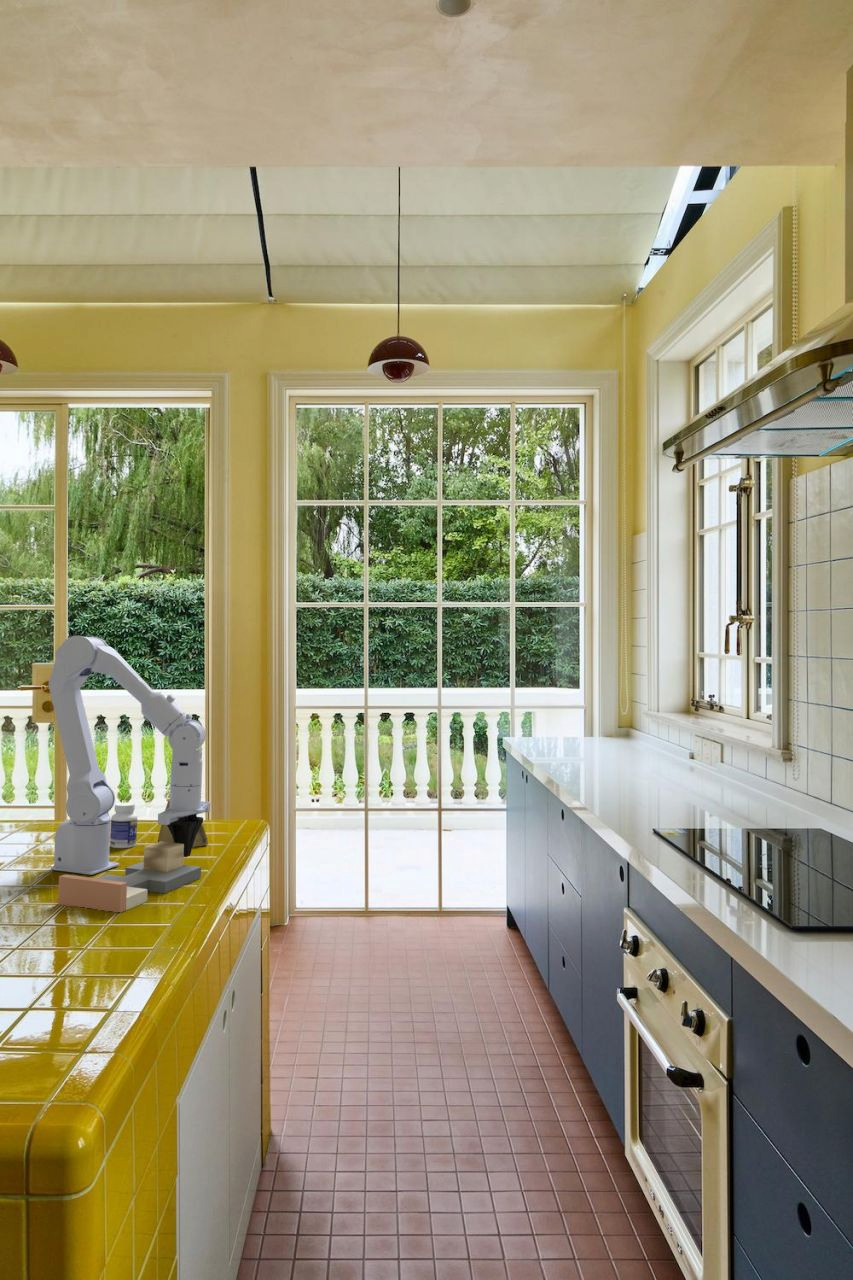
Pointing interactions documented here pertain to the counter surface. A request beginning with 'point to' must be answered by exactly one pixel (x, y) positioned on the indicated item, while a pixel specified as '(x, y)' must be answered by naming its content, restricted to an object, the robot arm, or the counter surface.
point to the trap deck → (122, 887)
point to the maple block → (163, 856)
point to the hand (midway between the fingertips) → (183, 855)
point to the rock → (167, 837)
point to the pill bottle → (123, 826)
